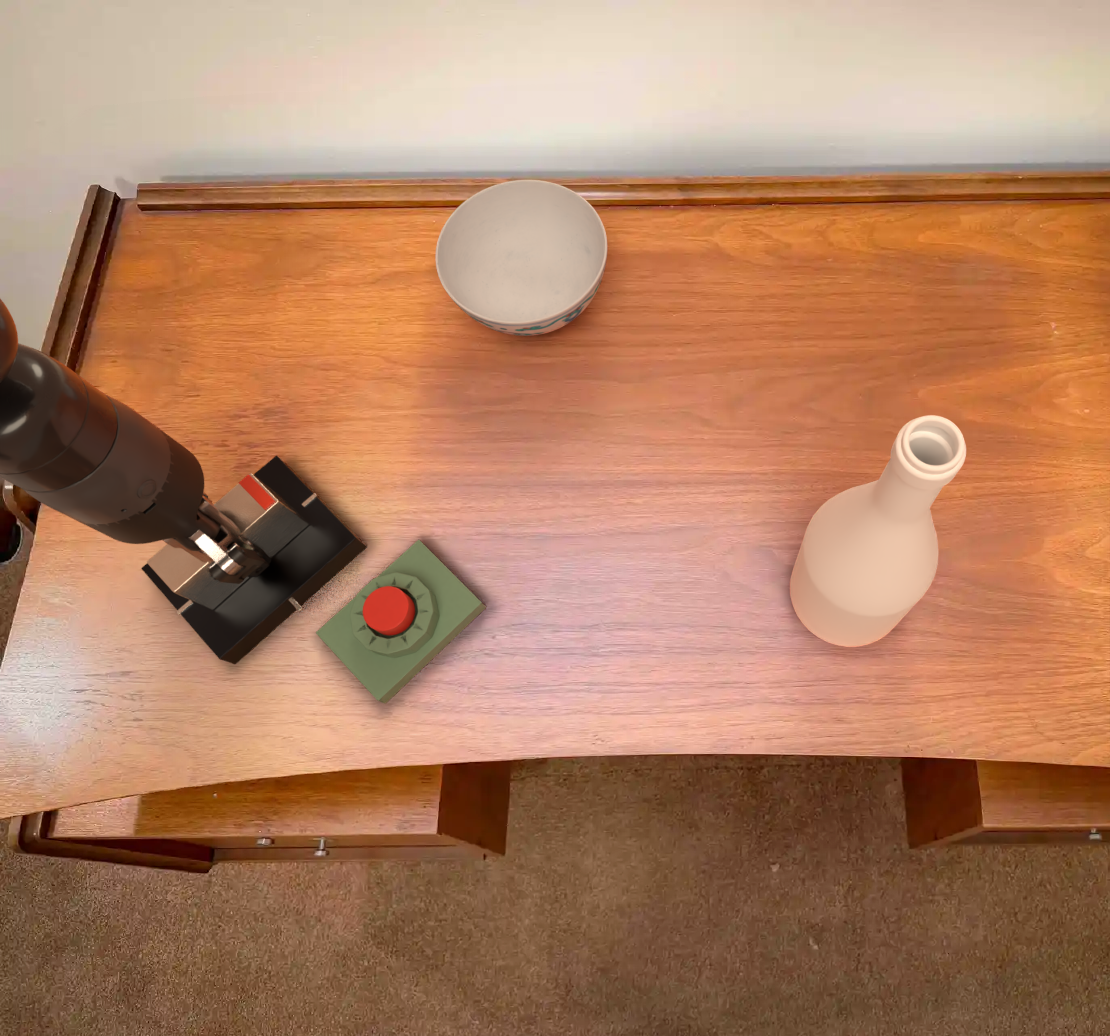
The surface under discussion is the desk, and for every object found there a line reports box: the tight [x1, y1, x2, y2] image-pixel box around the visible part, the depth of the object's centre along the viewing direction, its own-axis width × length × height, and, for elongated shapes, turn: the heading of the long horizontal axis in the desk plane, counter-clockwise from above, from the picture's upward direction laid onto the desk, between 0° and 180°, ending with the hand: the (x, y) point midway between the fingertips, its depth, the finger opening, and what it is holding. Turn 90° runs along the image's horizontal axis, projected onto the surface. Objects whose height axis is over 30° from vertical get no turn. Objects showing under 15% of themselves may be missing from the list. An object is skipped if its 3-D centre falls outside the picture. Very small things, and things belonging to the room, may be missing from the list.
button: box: [363, 586, 415, 635], centre depth 69 cm, size 4×4×2 cm
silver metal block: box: [146, 472, 309, 610], centre depth 69 cm, size 10×4×6 cm, turn 137°
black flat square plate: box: [140, 455, 368, 665], centre depth 73 cm, size 14×14×3 cm
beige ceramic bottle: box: [789, 414, 967, 648], centre depth 58 cm, size 10×10×30 cm
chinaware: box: [435, 179, 608, 337], centre depth 79 cm, size 15×15×8 cm
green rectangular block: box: [315, 539, 487, 705], centre depth 71 cm, size 11×8×4 cm
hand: (243, 549), depth 71 cm, fingers closed on silver metal block, 3 cm apart
